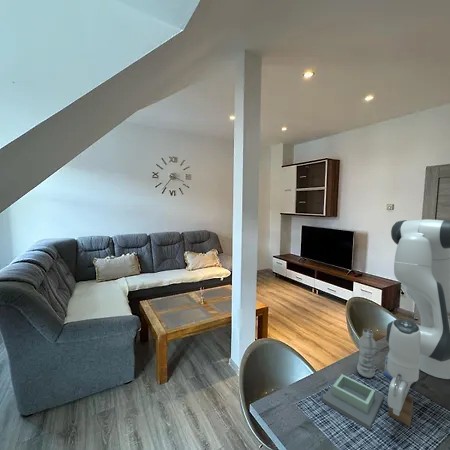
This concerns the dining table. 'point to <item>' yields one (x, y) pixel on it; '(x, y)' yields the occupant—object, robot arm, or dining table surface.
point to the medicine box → (387, 370)
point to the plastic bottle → (366, 354)
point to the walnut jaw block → (404, 411)
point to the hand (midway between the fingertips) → (399, 405)
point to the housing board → (354, 400)
